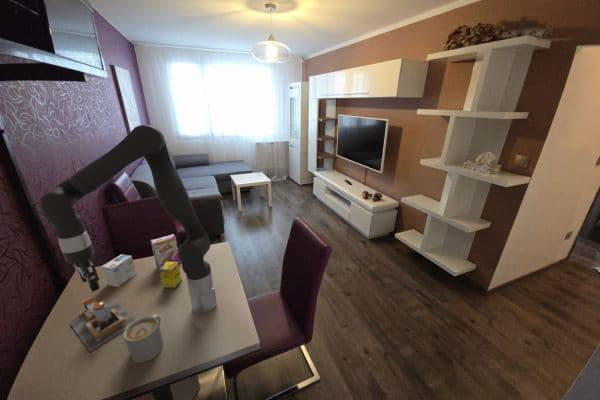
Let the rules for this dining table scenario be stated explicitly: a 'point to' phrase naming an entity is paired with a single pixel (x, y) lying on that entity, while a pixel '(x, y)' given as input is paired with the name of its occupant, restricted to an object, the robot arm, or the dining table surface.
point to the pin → (89, 304)
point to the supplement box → (170, 275)
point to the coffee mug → (144, 338)
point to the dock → (91, 331)
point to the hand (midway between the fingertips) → (91, 285)
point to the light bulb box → (119, 270)
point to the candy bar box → (165, 250)
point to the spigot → (102, 314)
